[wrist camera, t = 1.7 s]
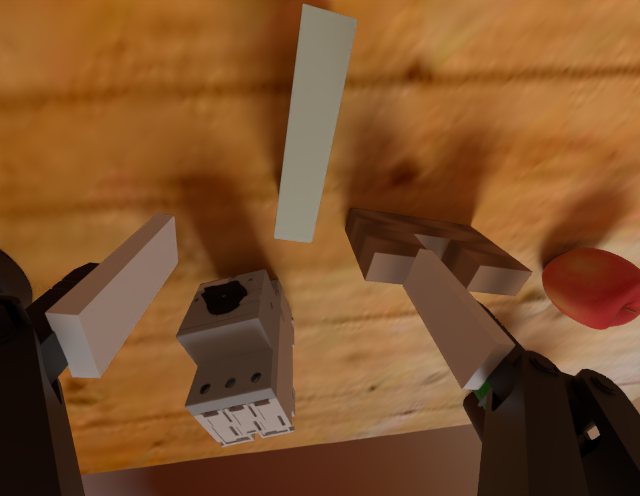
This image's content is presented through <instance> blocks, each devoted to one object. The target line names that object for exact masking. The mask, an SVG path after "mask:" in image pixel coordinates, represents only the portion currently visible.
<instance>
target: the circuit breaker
mask: <svg viewBox="0 0 640 496" xmlns="http://www.w3.org/2000/svg"><path fill="white" fill-rule="evenodd" d="M292 323H294V320H293V319H292V314H291V312H290V309H289V306H288V304H287V301H286V298H285V296H284V293H283V290H282V288H281V285H280V282H279V280H278V279H276V280H272V281H270V279H269V277H268V274H267V272H266V269H263V270H259V271H255V272H250V273H246V274H242V275H237V276H236V278H232V277H229V278H224V279H220V280H216V281H212V282H207V283H203V284H200V286H199V288H198V290H197V293H196V295H195V297H194V299H193V301H192V303H191V305H190V307H189V309H188V311H187V314H186V316H185V318H184V320H183V322H182V324H181V326H180V328H179V331H178V333H177V335H176V338H177V339H178V340H179V342H180V343H181V344H182V346H183V347H184V348H185V350H186V351H187V352H188V354H189V355H190V356H191V358H192V359H193V361H194V362H195V363H196V365H197V366H198V368H197V371H196V374H195V377H194V380H193V383H192V386H191V389H190V392H189V395H188V398H187V401H186V404H185V407H186V408H187V409H188V411H189V412H190V413H191V414H192V415H193V416H194V417H195V418H196V419H197V420H198V421H199V423H200V424H201V425H202V426H203V427H204V428H205V429H206V430H207V431H208V432H209V433H210V435H211V436H212V437H213V438H214V439H215V440H216V441H217V442H222V444H221V446H222V447H225V446H229V445H234V444H239V443H243V442H248V441H253V440H254V438H255V433H259V434H260V436H261V437H262V438H267V437H271V436H276V435H280V434H285V433H290V432H294V431H295V427H294V426H293V427H291V426H292V416H295V391H294V388H293V346H294V327H293V325H292Z"/></svg>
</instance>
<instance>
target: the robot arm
mask: <svg viewBox="0 0 640 496" xmlns="http://www.w3.org/2000/svg"><path fill="white" fill-rule="evenodd" d="M177 263H178V254H177V242H176V230H175V218H174V215H167V214H159V213H157V214H156V215H155V216H153V217H152V218H151V219H150V220H149V221H148V222H147V223H146V224H144V225H143V226H142V227H141V228H140V229H139V230H138V231H137V232H135V233H134V234H133V235H132V236H131V237H130V238H129V239H128V240H126V241H125V242H124V243H123V244H122V245H121V246H120V247H119V248H117V249H116V250H115V251H114V252H113V253H112V254H111V255H109V256H108V257H107V258H106V259H105V260H104V261H103V262H102V263H100V264H99V263H88V264H85V265H83V266H81V267H79V268H77V269H74V270H73V271H72V272H70V273H69V274H68V275H67V276H65V277H64V278H63V279H62V281H59V282H58V283H57V284H56V285H54V286H53V287H52V289H49V290H48V291H47V292H46V293H44V294H43V295H42V296H41V297H39V298H38V299H37V300H36V301H34V302H33V303H32V290H31V287H30V285H29V282H28V280H27V279H26V277H25V276H24V274H23V273H22V271H21V270H20V269H19V268H18V267H17V266H16V265H15V264H14V263H13V262H12V261H11V260H10V259H9V258H8V257H7V256H5V255H4V254H3V253H1V252H0V496H85V493H84V489H83V484H82V480H81V475H80V470H79V466H78V461H77V456H76V452H75V447H74V443H73V438H72V433H71V429H70V424H69V420H68V415H67V411H66V406H65V401H64V397H63V392H62V388H61V383H60V381H59V379H58V376H59V375H60V374H61V373H62V372H63V370H64V369H65V368H66V367H67V366H68V367H69V370H70V372H71V374H72V377H86V378H100V377H101V376H102V374H103V373H104V371H105V370H106V368H107V367H108V366H109V364H110V363H111V361H112V360H113V358H114V357H115V355H116V354H117V352H118V351H119V349H120V348H121V346H122V345H123V343H124V342H125V340H126V339H127V337H128V336H129V334H130V333H131V331H132V330H133V329H134V327H135V326H136V324H137V323H138V321H139V320H140V318H141V317H142V315H143V314H144V312H145V311H146V309H147V308H148V306H149V305H150V303H151V302H152V300H153V299H154V297H155V296H156V294H157V293H158V292H159V290H160V289H161V287H162V286H163V284H164V283H165V281H166V280H167V278H168V277H169V275H170V274H171V272H172V271H173V269H174V268H175V266H176V265H177ZM403 287H404V289H405V291H406V292H407V294H408V296H409V298H410V299H411V301H412V303H413V305H414V306H415V308H416V310H417V311H418V313H419V315H420V317H421V318H422V320H423V322H424V324H425V325H426V327H427V329H428V331H429V332H430V334H431V336H432V338H433V339H434V341H435V343H436V345H437V346H438V348H439V350H440V352H441V353H442V355H443V357H444V359H445V360H446V362H447V364H448V366H449V367H450V369H451V371H452V373H453V374H454V376H455V378H456V380H457V381H458V383H459V385H460V387H461V388H462V389H468V390H479V388H480V387H481V386H482V385H483V384H484V382H485V381H487V382H488V384H489V385H490V387H491V389H490V390H489V391H488V392H487V394H486V395H485V396H484V397H483V398H482V399H481V400H480V402H479V403H478V406H479V407H481V406H482V405H483V404H484V403H486V408H485V420H484V431H483V441H482V452H481V462H480V473H479V484H478V494H477V496H640V414H639V413H638V411H637V410H636V409H635V407H634V406H633V404H632V403H631V402H630V400H629V399H628V397H627V396H626V395H625V393H624V392H623V391H622V390H621V389H620V388H619V387H618V386H617V385H616V384H615V383H613V381H612V380H610V379H609V378H606V376H604V375H602V374H600V373H598V372H595V371H593V370H589V369H582V370H581V371H580V372H579V373H578V374H576V375H575V376H572V375H569V374H566V373H563V372H561V371H560V370H559V369H558V368H557V367H556V365H555V364H553V363H552V362H551V361H550V360H549V359H547V358H545V357H544V356H542V355H541V354H538V353H536V352H533V351H528V350H527V351H525V349H524V348H523V347H522V346H521V345H520V344H519V343H518V342H517V341H516V339H515V338H514V337H513V336H512V335H511V334H510V333H509V332H508V331H507V330H506V328H505V327H504V326H502V325H501V323H500V322H499V321H498V320H497V319H495V316H494V315H493V314H492V313H491V312H490V311H489V310H488V309H487V308H486V307H485V306H483V305H482V304H481V303H479V302H478V301H476V300H475V299H474V297H473V296H472V295H471V294H470V293H469V292H468V291H467V289H466V288H465V287H464V286H463V285H462V284H461V283H460V282H459V280H458V279H457V278H456V277H455V276H454V275H453V274H452V273H451V271H450V270H449V269H448V268H447V267H446V266H445V265H444V264H443V262H442V261H441V260H440V259H439V258H438V257H437V256H436V255H435V253H434V252H433V251H432V250H426V249H419V252H418V254H417V256H416V258H415V261H414V263H413V265H412V267H411V269H410V272H409V274H408V276H407V278H406V281H405V283H404V285H403ZM594 426H597V428H598V430H599V433H600V436H598V437H597V438H595V439H593V440H591V438H590V437H589V435H588V433H587V432H588V431H589V430H590V429H592V428H593V427H594Z"/></svg>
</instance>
